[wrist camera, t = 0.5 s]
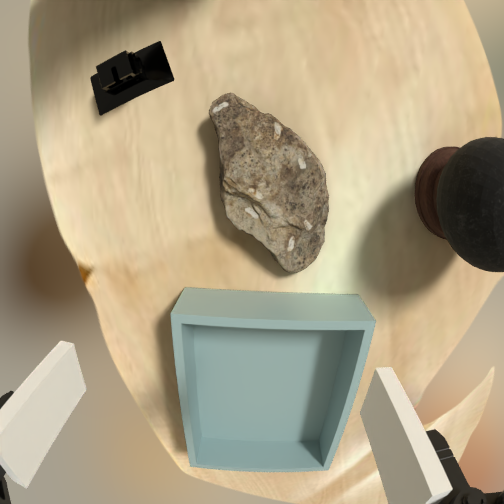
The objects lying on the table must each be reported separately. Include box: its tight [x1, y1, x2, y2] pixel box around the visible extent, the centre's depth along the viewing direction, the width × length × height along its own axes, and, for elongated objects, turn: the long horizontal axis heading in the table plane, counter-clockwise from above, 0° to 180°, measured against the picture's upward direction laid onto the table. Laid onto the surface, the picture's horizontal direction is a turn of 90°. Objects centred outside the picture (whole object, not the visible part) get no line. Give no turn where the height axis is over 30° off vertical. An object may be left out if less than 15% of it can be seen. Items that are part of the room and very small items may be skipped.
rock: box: [209, 93, 329, 273], centre depth 30 cm, size 18×11×4 cm, turn 46°
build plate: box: [90, 41, 174, 115], centre depth 27 cm, size 12×7×5 cm, turn 109°
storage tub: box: [170, 287, 376, 472], centre depth 36 cm, size 26×20×6 cm
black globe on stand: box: [415, 137, 504, 272], centre depth 24 cm, size 13×13×15 cm
